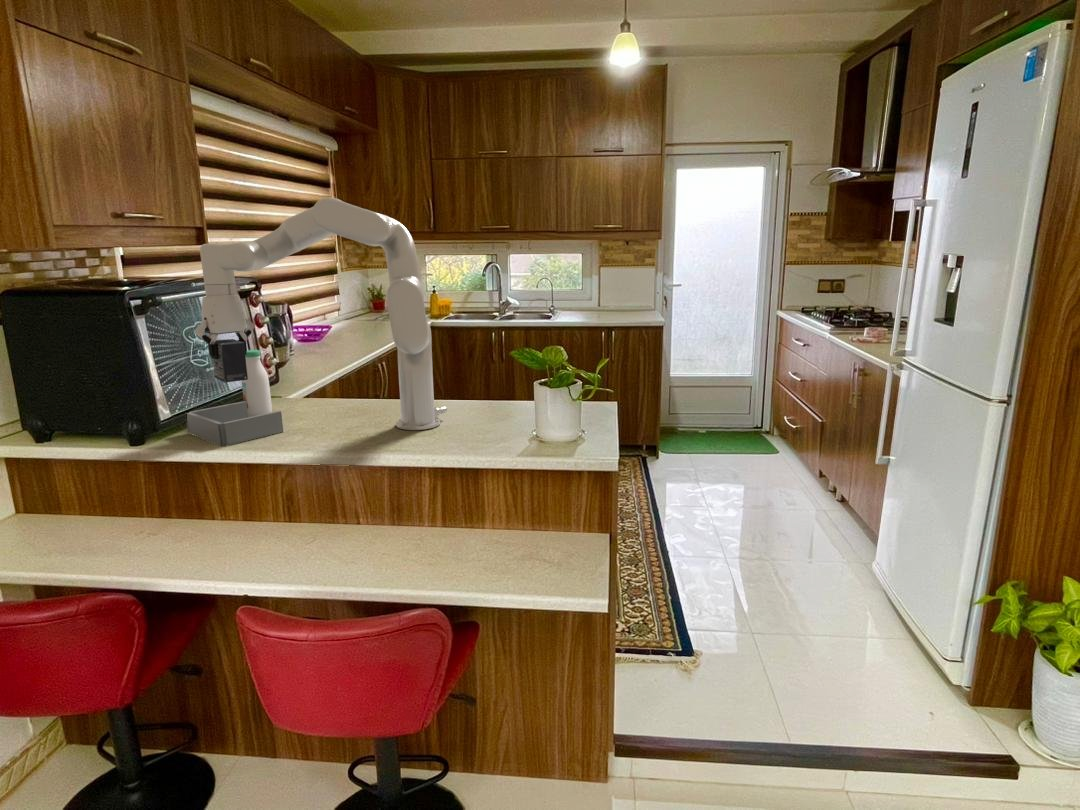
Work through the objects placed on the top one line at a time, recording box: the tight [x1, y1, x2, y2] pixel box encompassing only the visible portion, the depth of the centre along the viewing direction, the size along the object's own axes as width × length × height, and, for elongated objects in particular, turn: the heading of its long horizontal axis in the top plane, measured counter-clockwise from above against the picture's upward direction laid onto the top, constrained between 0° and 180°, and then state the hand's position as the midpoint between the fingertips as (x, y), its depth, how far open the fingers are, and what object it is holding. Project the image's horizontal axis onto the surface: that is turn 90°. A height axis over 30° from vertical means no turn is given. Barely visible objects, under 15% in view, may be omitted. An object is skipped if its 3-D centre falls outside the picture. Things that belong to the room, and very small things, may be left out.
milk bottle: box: [241, 349, 273, 417], centre depth 204 cm, size 8×8×20 cm
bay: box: [185, 400, 284, 447], centre depth 186 cm, size 17×20×6 cm
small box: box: [212, 338, 248, 383], centre depth 183 cm, size 11×6×10 cm, turn 40°
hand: (229, 356), depth 182 cm, fingers closed on small box, 7 cm apart
